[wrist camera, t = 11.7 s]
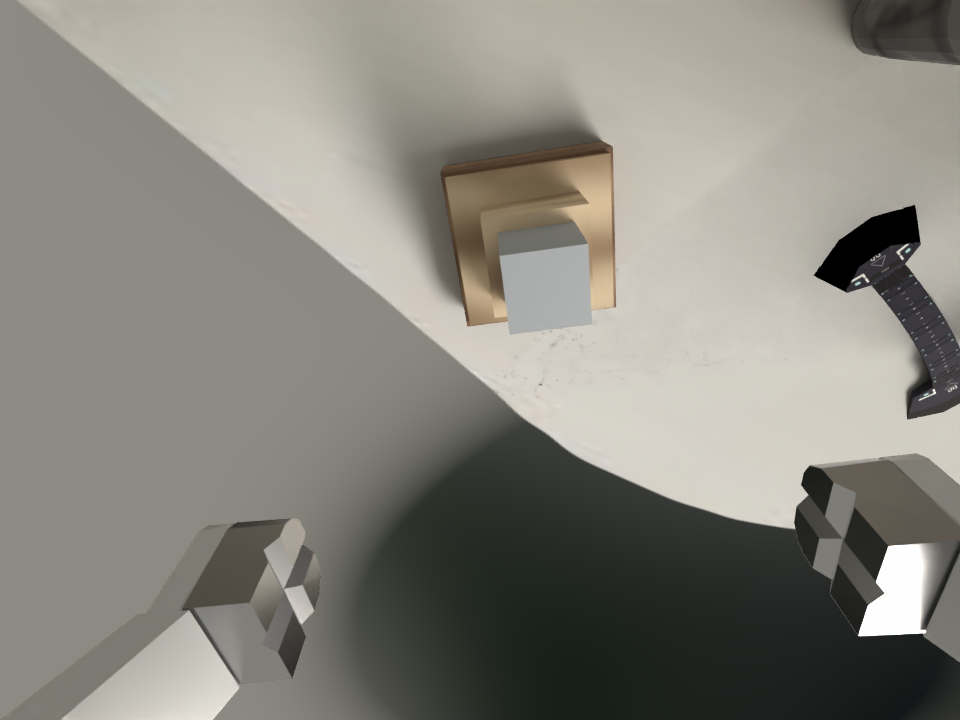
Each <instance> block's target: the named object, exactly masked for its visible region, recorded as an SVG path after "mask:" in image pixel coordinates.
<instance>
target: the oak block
mask: <svg viewBox="0 0 960 720" xmlns="http://www.w3.org/2000/svg"><path fill="white" fill-rule="evenodd" d="M480 221H481V228H482V235H483V241H484V248H485V255H486V262H487V269H488V276H489V282H490V289H491V296H492V303H493V310H494V317H495V318H498V317H506V316H507V309H506V302H505V294H504V287H503V279H502V271H501V264H500V256H499V244H498V232H505V231H512V230H519V229H526V228H533V227H540V226H547V225H554V224H561V223H568V222H575V223H576V225H577V226H578V228H579V230H580V231H581V233H582V234H583V236H584V238H585V239H586V241H587V242H588V250H589V272H590V293H591V305H594V295H593V271H592V248H591V225H590V204H589V202H588V201H587V200H586V199H585V197H584V196H583V195H582V194H581V193H580V191H578V192H571V193H565V194H558V195H551V196H544V197H538V198H531V199H524V200H518V201H511V202H504V203H497V204H491V205H484V206H481V215H480Z"/></svg>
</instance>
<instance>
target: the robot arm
mask: <svg viewBox="0 0 960 720" xmlns="http://www.w3.org/2000/svg"><path fill="white" fill-rule="evenodd" d="M801 486H802V487H803V488H804V490H805V491H806V492H807V494H808V496H807V497H806V498H805V499H804V500H803V501H802V502H801V503H800V504H799V505H798V506H797V507H796V514H795V521H794V524H795V529H796V535H797V540H798V542H799V544H800V547H801V549H802V551H803V554H804V555H805V557H806V558H807V560H808V561H809V563H810V564H811V566H812V568H814V569H815V570H817V571H819V572H820V573H822V574H824V575H825V576H827V577H828V578H830V579H832V583H831V590H830V595H831V596H832V598H833V599H834V601H835V602H836V603H837V605H838V606H839V608H840V609H841V611H842V612H843V614H844V615H845V617H846V618H847V620H848V621H849V623H850V624H851V626H852V627H853V628H854V630H855V632H856V633H857V634H858V636H866V635H886V634H908V633H924V637H925V638H927V639H928V640H930V641H931V642H932V643H934V644H935V645H937V646H938V647H939V648H941V649H942V650H944V651H945V652H946V653H948V654H949V655H950V656H952V657H954V658H955V659H956V660H957V661H959V662H960V485H959V484H958V483H957V482H955V481H954V480H953V479H952V478H951V477H950V476H948V475H947V474H946V473H945V472H944V471H943V470H941V469H940V468H939V467H938V466H937V465H935V464H934V463H933V462H932V461H931V460H930V459H928V458H926V457H924V456H921V455H919V454H907V455H898V456H889V457H880V458H878V459H875V458H873V459H864V460H855V461H846V462H837V463H828V464H819V465H810V466H809V467H808V468H807V469H806V471H805V472H804V474H803V479H802V483H801ZM305 535H306V533H305V531H304V529H303V527H302V525H301V523H300V521H299V520H297V519H292V518H289V519H277V520H263V521H250V522H237V523H232V524H218V525H208V526H206V527H205V528H203V529H202V530H200V531H199V532H198V534H197V535H196V537H195V538H194V540H193V542H192V543H191V545H190V546H189V547H188V549H187V551H186V552H185V554H184V556H183V557H182V558H181V560H180V562H179V563H178V565H177V566H176V568H175V569H174V571H173V572H172V574H171V576H170V577H169V579H168V580H167V582H166V583H165V585H164V586H163V588H162V590H161V591H160V593H159V594H158V596H157V597H156V599H155V600H154V602H153V604H152V605H151V607H150V608H149V610H148V611H147V613H146V614H139V615H135V616H134V617H133V618H132V619H130V620H129V621H128V622H126V623H125V624H124V625H123V626H121V627H120V628H119V629H117V630H116V631H115V632H113V633H112V634H111V635H110V636H108V637H107V638H106V639H104V640H103V641H102V642H101V643H99V644H98V645H97V646H95V647H94V648H93V649H91V650H90V651H89V652H88V653H86V654H85V655H84V656H82V657H81V658H80V659H79V660H77V661H76V662H75V663H73V664H72V665H71V666H69V667H68V668H67V669H66V670H64V671H63V672H62V673H60V674H59V675H58V676H56V677H55V678H54V679H53V680H51V681H50V682H49V683H48V684H46V685H45V686H43V687H42V688H41V689H40V690H39V691H37V692H36V693H34V694H33V695H32V696H31V697H29V698H28V699H27V700H25V701H24V702H23V703H21V704H20V705H19V706H18V707H16V708H15V709H14V710H12V711H11V712H10V713H9V714H7V715H6V716H5V717H3V718H2V719H1V720H213V719H214V718H215V716H216V715H217V714H218V713H219V712H220V710H221V709H222V708H223V707H224V706H225V704H226V703H227V702H228V701H229V699H230V698H231V697H232V696H233V695H234V694H235V692H236V691H237V690H238V689H239V685H238V684H245V683H255V682H264V681H273V680H283V679H292V677H293V675H294V671H295V669H296V665H297V662H298V659H299V656H300V653H301V650H302V647H303V644H304V641H305V638H306V636H305V633H304V631H303V628H302V626H301V624H302V623H303V622H304V621H305V620H306V619H307V618H308V617H309V616H310V615H311V614H312V613H313V611H314V610H315V607H316V603H317V600H318V596H319V590H320V578H321V576H320V569H319V564H318V561H317V558H316V556H315V553H314V552H313V551H311V550H309V549H308V548H307V547H305V546H304V545H302V543H303V541H304V538H305Z"/></svg>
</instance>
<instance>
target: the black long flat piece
mask: <svg viewBox="0 0 960 720" xmlns="http://www.w3.org/2000/svg"><path fill="white" fill-rule="evenodd" d="M920 245H921V243H920V236H919V228H918V221H917V214H916V208H915V205H913V206H910V207H905V208H904V209H900V210H895V211H892V212H888V213H885V214H881V215H878V216H874V217H871V218H870V219H868V220H867V221H866V222H864V223H863V224H861V225H860V226H858V227H857V228H856V229H854V230H853V231H851V232H850V233H849V234H847V235H846V236H844V237H843V238H842V239H840V240H839V241H838V242H837V244H836V245H835V247H834V248H833V249H832V251H831V252H830V253H829V255H828V256H827V257H826V259H825V260H824V262H823V264H822V265H821V267H819V268H818V270H817V272H816V273H815V274H814V276H816V277H817V278H819V279H821V280H823V281H825V282H827V283H829V284H831V285H833V286H835V287H837V288H839V289H841V290H843V291H845V292H847V293H848V292H851V291H855V290H858V289H861V288H864V287H867V286H871V285H872V287H873V288H874V289H875V290H876V291H877V293H878V294H879V295H880V296H881V297H882V298H883V299H884V301H885V302H886V303H887V305H888V306H889V307H890V309H891V310H892V311H893V313H894V314H895V315H896V316H897V318H898V319H899V321H900V322H901V324H902V325H903V326H904V328H905V329H906V331H907V332H908V334H909V335H910V337H911V338H912V339H913V342H914V343H915V345H916V347H917V348H918V350H919V352H920V353H921V355H922V357H923V359H924V361H925V363H926V365H927V368H928V370H929V373H930V376H931V378H932V379H930V380H929V381H927V382H926V383H924V384H923V385H921V386H920V387H918V388H917V389H915V390H914V391H912V401H911V404H910V407H909V410H908V413H907V420H908V419H913V418H917V417H922V416H927V415H932V414H936V413H941V412H944V411H946V410H948V409H950V408H952V407H954V406H956V405H958V404H959V403H960V348H959V346H958V343H957V341H956V339H955V337H954V335H953V333H952V331H951V329H950V327H949V325H948V324H947V322H946V321H945V318H944V317H943V316H942V314H941V312H940V311H939V309H938V307H937V306H936V304H935V303H934V302H933V300H932V299H931V297H930V296H929V294H928V293H927V292H926V290H925V289H924V288H923V286H922V285H921V284H920V282H919V281H918V280H917V278H916V277H915V276H913V275H914V274H913V273H912V272H911V270H910V269H909V268H908V267H907V266H906V264H905V263H906V262H907V261H908V259H909V258H910V257H911V256H912V255H913V253H914V252H915V251H916V250H917V248H918V247H919V246H920ZM902 265H903V266H902ZM899 267H900V268H899ZM888 274H889V275H888ZM885 276H886V277H885ZM882 278H883V279H882ZM905 280H906V281H905ZM894 287H895V288H894Z"/></svg>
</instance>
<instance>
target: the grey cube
mask: <svg viewBox="0 0 960 720" xmlns="http://www.w3.org/2000/svg"><path fill="white" fill-rule="evenodd" d="M498 244H499V256H500V264H501V271H502V279H503V287H504V294H505V302H506V309H507V317H508V324H509V332H510V335H511V334H519V333H526V332H534V331H542V330H550V329H558V328H565V327H573V326H581V325H589V324H592V315H591V293H590V272H589V250H588V242H587V241H586V239H585V238H584V236H583V234H582V233H581V231H580V230H579V228H578V226H577V225H576V223H575V222H568V223H561V224H554V225H547V226H540V227H533V228H526V229H519V230H512V231H505V232H498Z"/></svg>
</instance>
